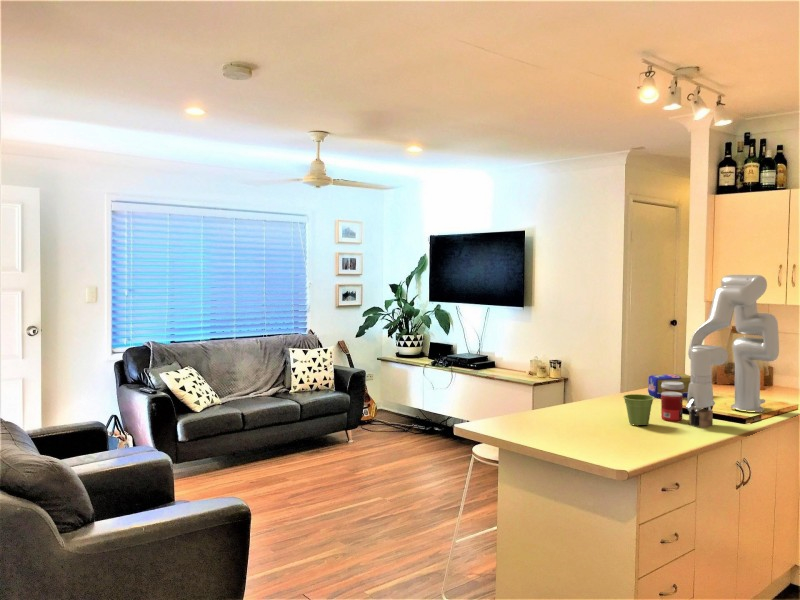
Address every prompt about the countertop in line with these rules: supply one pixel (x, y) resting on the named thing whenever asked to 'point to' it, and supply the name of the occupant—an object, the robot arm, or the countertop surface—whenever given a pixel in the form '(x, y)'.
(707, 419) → the walnut block
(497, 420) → the countertop surface
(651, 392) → the bread
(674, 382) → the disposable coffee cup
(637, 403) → the plant pot
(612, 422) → the countertop surface
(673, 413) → the canned food
